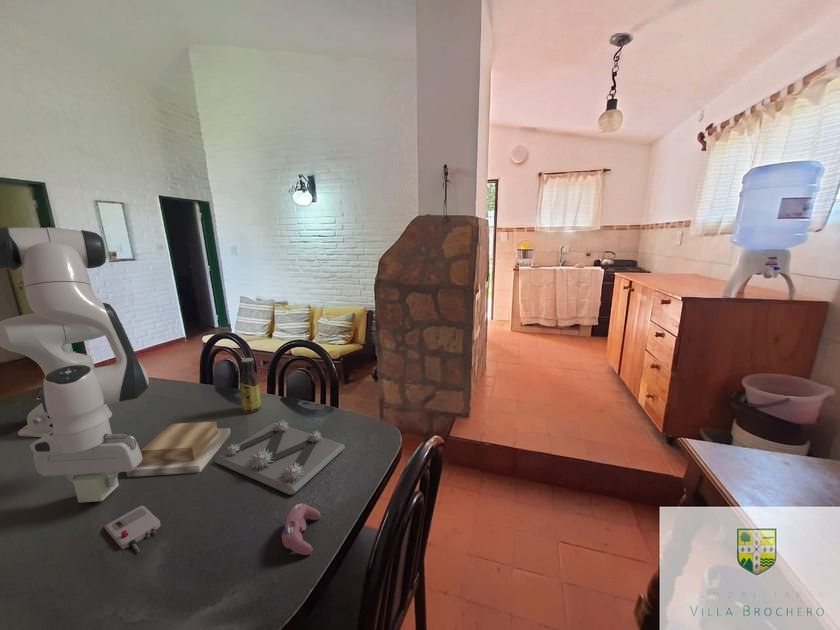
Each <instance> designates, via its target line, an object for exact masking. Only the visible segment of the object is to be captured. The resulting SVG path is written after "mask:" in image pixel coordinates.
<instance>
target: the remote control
mask: <svg viewBox="0 0 840 630" xmlns="http://www.w3.org/2000/svg"><path fill="white" fill-rule="evenodd" d="M161 526H162V525H161V520H159V518H158V517H157V516H155V514H153V513H152V512H151V511H150V510H149V509H147V507H146V506H144V505H139V506H137V507H136V508H134V509H132V510H130V511H128V512H126V513H125V514H123V515H121V516H120V517H118V518H116V519H114V520H112V521H111V522H108V523H107V524H105V525H104V526H103V528H104V529H105V531H106V532H107V533H108V534H109V535H110V537H111V538H112V539H113V540H114V542H115V543H116V544H117V545H118V546H119V547H120V549H122V550H124V549H127V548H133V549H134V550H136V551H137V552H139V553H140V552H141V549H140V548H139V547H138V545H137V543H138V542H139V540H140V541H142V540H143V539H145V538H146V537H150V536H151V534H152V533H153V534H155V535H157V534H158V533H157V531H156V530H157V529H159V528H160V527H161Z"/></svg>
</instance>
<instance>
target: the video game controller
mask: <svg viewBox="0 0 840 630" xmlns="http://www.w3.org/2000/svg"><path fill="white" fill-rule="evenodd" d="M321 516H322V514H321V513H320V511H319V510H318V509H316V508H314V507H312V506H309V505H308V504H306V503H298V504H297V503H296V504H295V505H293V506H292V507H291V509H290V510H289V512H288V514H287V517H286V521H285V524H284V530H283V531H282V534H281V540H282V544H283V546H284V547H285V548H286V549H290V550H291V551H293V552H295V553H296V554H299V555H303V556H308V555H309V556H310V555H311V554H312V553H313V550H314V549H313V546H312V545H311V544H310V543H309V542H306V541H305V540H304V539H303V534H302V533H303V532H304V531H306V529H307V521H306V520H305V519H307V520H312V521H317V520H320V519H321Z"/></svg>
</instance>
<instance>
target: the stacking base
mask: <svg viewBox="0 0 840 630" xmlns="http://www.w3.org/2000/svg"><path fill="white" fill-rule="evenodd" d="M217 424H218V423H217V421H202V422H201V421H200V422H183V423H182V422H181V423H179V422H178V423H171V424H170V425H169V426H167V427H166V428H165V429H164V430H163V431H161V432H160V433H159V434H158V435H157V436H155V438H153V439H152V440H151V441H150V442H149V443H148V444H146V446H144V447H143V448H141V449H140V451H141V454H142V461H141V463H140V464H139V465H138V466H137V467H136V468H134V469H133V470H132V471H129V472H126V476H127V478H131V477H133V478H134V477H147V476H149V477H150V476H163V475H177V474H178V475H180V474H194V473H201V472H202V471H203V470H204V468H205V467H206V466H207V465H208V463H209V462H210V461H211V459H212V458H213V457H214V455H215V454H216V453H217V452H218V450H219V449H220V448H221V447H222V445H223V444H224V443H225V442H226V440H227V439H228V438H229V436H230V435H231V428H230V427H229V428H228V427H226V428H225V427H223V428H218V425H217Z"/></svg>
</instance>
